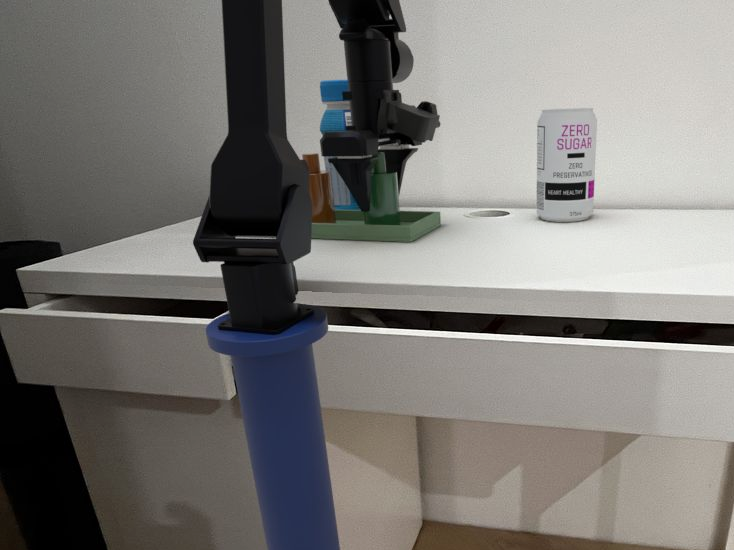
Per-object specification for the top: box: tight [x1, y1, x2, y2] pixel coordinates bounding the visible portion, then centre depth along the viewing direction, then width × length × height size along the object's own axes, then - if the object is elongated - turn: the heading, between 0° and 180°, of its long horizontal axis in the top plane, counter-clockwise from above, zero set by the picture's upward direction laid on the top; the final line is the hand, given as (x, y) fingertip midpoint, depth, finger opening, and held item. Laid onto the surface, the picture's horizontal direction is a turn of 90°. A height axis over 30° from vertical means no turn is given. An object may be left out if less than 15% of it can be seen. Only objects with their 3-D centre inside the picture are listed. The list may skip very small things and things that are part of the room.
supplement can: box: [536, 107, 598, 223], centre depth 89 cm, size 8×8×15 cm
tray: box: [311, 209, 442, 243], centre depth 89 cm, size 11×31×2 cm, turn 72°
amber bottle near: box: [301, 152, 337, 224], centre depth 87 cm, size 5×5×10 cm
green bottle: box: [363, 153, 401, 225], centre depth 84 cm, size 5×5×10 cm
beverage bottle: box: [319, 79, 360, 210], centre depth 97 cm, size 8×8×20 cm
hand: (380, 206), depth 85 cm, fingers open, 9 cm apart
